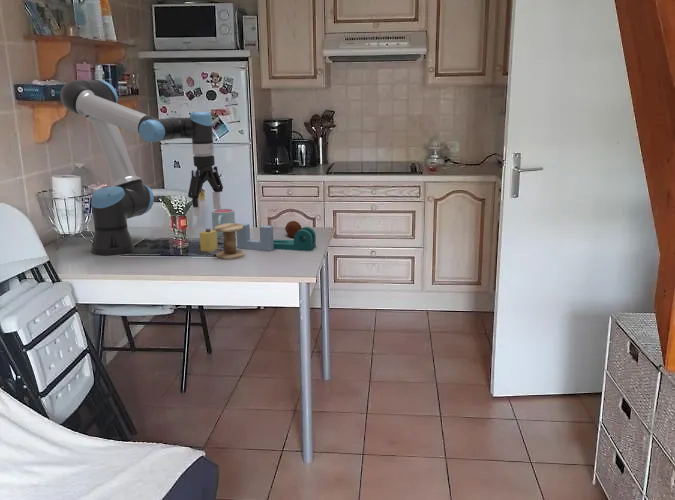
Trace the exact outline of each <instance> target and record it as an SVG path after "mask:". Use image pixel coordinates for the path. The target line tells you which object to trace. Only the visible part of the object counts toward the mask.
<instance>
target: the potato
mask: <svg viewBox="0 0 675 500" xmlns="http://www.w3.org/2000/svg"><path fill="white" fill-rule="evenodd" d="M302 228H303V227H302V226H301V224H300V223H299V222H298V221H296V220H290V221H288V222H287V223H286V225H285V227H284V230H285V233H286V234H287V235H288V236H289V237H290V238H294V235H295V234H296V233H297V232H298V231H299V230H300V229H302Z"/></svg>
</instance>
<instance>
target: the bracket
mask: <svg viewBox="0 0 675 500" xmlns="http://www.w3.org/2000/svg"><path fill="white" fill-rule="evenodd" d="M301 228H302V229H300V230H299V231H298V232H297V233H296V234H295V235H294V237H293V239H273V241H274V249H273V250H286V251H287V250H288V251H304V252H305V251H306V252H312V251H313V250H314V249H315V248H316V247H317V241H316V240H317V239H316V238H317V237H316V232H315V230H314V229H313V228H311V227H310V226H304V227H301Z"/></svg>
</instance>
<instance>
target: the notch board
mask: <svg viewBox="0 0 675 500" xmlns="http://www.w3.org/2000/svg"><path fill="white" fill-rule="evenodd" d="M240 224H241V225H243V229H242V230H240V231H236V249H241V250H242V249H243V250H244V249H245V250H255V251H265V252H266V251H267V252H271V251H273V250H275V249H274V241H273V240H274V225H265V224H264V225H261V226H259V238H260V240H258V239H251V231H250V230H251V229H250V223H249V224H248V223H240Z"/></svg>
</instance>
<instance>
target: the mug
mask: <svg viewBox="0 0 675 500" xmlns="http://www.w3.org/2000/svg"><path fill="white" fill-rule="evenodd" d="M211 221H212V222H211V223H212V230H215V226H216V225H219V224H226V223H236V221H235V209H233V208H221V209H211ZM218 237H220V238H221V237H222V238H223V232H219V231H217V238H218Z"/></svg>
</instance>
